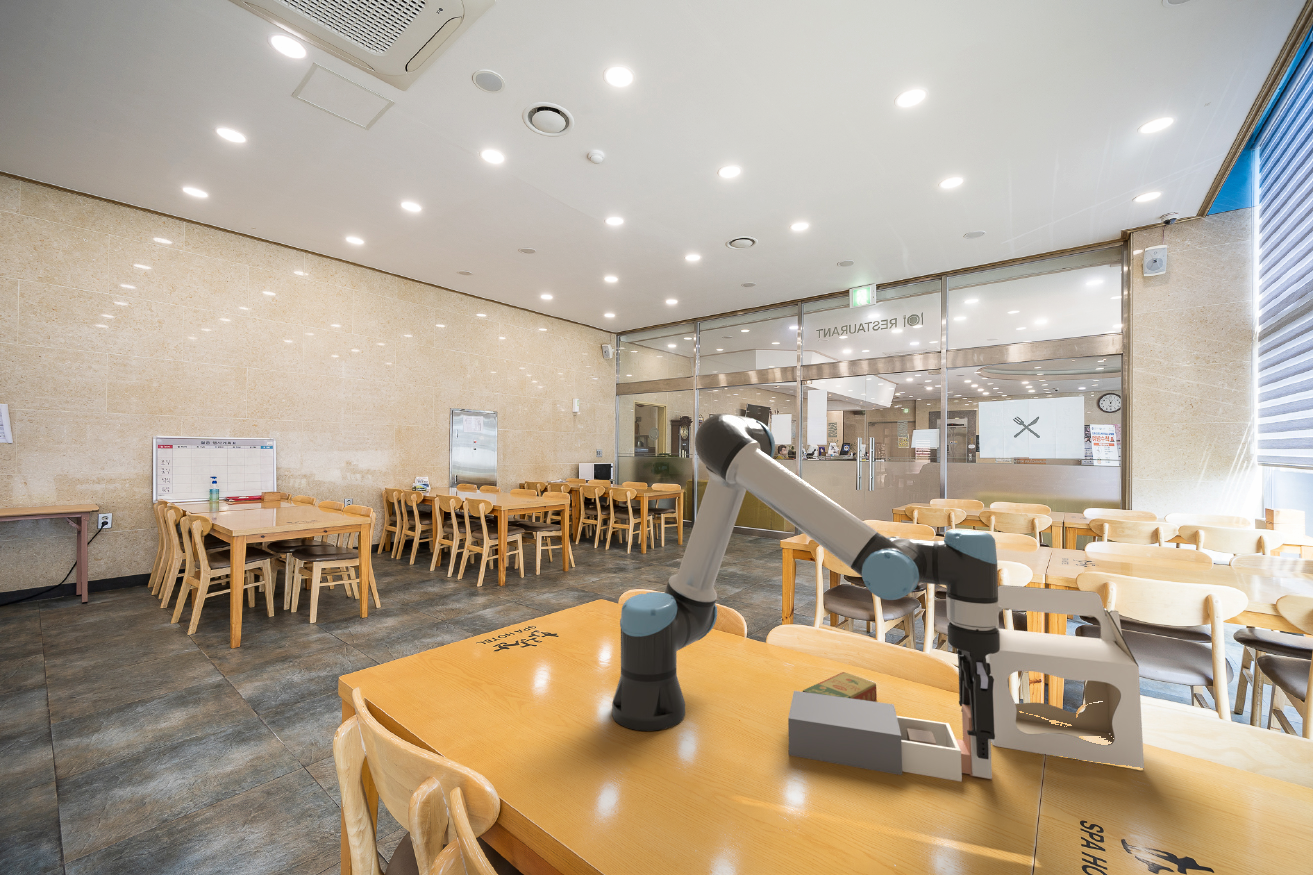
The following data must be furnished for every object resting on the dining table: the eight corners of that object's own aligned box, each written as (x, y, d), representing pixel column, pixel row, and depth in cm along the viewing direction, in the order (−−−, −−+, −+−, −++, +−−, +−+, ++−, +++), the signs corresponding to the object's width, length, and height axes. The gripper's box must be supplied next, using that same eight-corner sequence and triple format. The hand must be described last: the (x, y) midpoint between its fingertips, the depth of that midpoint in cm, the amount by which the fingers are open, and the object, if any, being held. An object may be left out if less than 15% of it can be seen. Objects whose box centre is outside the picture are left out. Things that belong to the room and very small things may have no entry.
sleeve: (788, 759, 91) (788, 718, 91) (794, 727, 102) (793, 690, 102) (902, 779, 85) (901, 735, 85) (894, 743, 96) (893, 704, 96)
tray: (852, 765, 88) (851, 706, 89) (851, 738, 97) (849, 684, 98) (996, 791, 81) (993, 726, 82) (980, 758, 90) (978, 701, 91)
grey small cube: (910, 763, 88) (909, 739, 88) (907, 751, 92) (906, 728, 92) (937, 768, 87) (936, 743, 87) (932, 755, 90) (932, 731, 91)
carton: (877, 702, 114) (877, 682, 114) (836, 724, 104) (836, 702, 104) (843, 689, 120) (843, 670, 121) (801, 709, 110) (800, 688, 111)
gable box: (1112, 735, 99) (1104, 586, 101) (1146, 772, 87) (1137, 602, 89) (977, 714, 107) (972, 577, 109) (991, 746, 95) (985, 590, 97)
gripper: (1015, 643, 78) (1021, 804, 77) (984, 611, 95) (988, 743, 94) (959, 637, 81) (963, 793, 79) (938, 608, 98) (941, 735, 96)
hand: (977, 765), depth 87 cm, fingers closed on tray, 5 cm apart
